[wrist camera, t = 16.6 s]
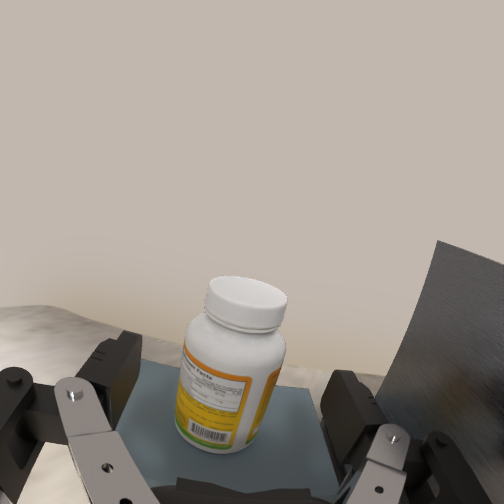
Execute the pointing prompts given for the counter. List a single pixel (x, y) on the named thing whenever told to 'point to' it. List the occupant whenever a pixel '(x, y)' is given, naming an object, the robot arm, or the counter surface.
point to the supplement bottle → (230, 364)
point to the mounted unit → (452, 366)
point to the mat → (232, 464)
